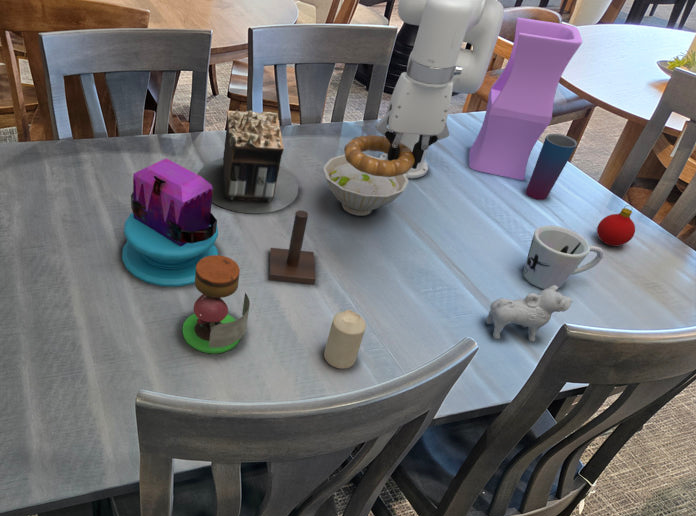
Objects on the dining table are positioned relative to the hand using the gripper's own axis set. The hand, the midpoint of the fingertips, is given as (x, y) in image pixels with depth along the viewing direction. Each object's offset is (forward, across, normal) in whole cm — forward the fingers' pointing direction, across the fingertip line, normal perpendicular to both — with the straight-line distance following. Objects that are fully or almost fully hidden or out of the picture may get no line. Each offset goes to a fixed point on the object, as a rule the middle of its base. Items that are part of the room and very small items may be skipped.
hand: (402, 163), depth 121 cm
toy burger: (+22, +34, +30) cm, 50 cm away
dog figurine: (+22, -23, +21) cm, 38 cm away
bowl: (+22, +2, -18) cm, 28 cm away
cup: (+21, -44, -31) cm, 58 cm away
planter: (+22, +28, -23) cm, 43 cm away
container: (+21, -38, -46) cm, 64 cm away
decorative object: (+22, +44, +8) cm, 49 cm away
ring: (-1, +5, 0) cm, 5 cm away
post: (+22, +18, +8) cm, 30 cm away
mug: (+22, -36, +4) cm, 42 cm away
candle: (+22, +11, +32) cm, 40 cm away
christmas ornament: (+22, -54, -12) cm, 60 cm away
